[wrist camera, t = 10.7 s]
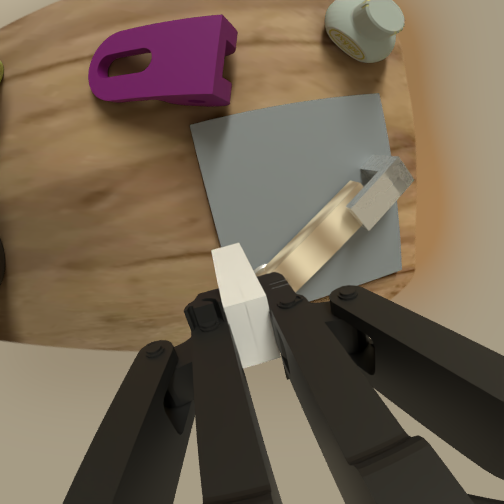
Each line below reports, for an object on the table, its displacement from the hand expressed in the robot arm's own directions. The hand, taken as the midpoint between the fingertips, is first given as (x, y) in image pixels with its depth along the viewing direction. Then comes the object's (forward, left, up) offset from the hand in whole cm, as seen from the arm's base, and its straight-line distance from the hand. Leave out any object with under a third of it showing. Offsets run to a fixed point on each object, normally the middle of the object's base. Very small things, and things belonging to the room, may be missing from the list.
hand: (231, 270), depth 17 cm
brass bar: (+12, -9, -24) cm, 28 cm away
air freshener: (+26, +20, -27) cm, 42 cm away
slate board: (+14, -4, -26) cm, 30 cm away
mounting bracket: (-2, +19, -27) cm, 33 cm away
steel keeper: (+21, -3, -25) cm, 33 cm away
